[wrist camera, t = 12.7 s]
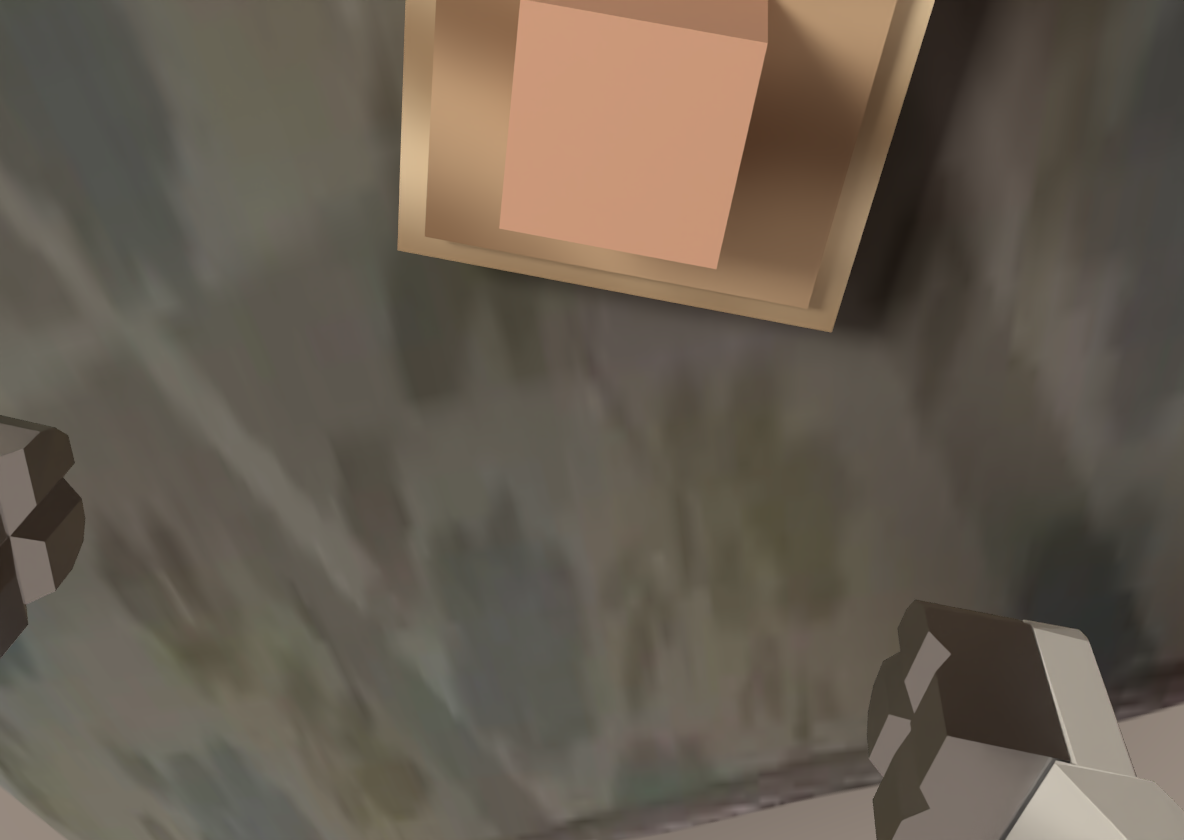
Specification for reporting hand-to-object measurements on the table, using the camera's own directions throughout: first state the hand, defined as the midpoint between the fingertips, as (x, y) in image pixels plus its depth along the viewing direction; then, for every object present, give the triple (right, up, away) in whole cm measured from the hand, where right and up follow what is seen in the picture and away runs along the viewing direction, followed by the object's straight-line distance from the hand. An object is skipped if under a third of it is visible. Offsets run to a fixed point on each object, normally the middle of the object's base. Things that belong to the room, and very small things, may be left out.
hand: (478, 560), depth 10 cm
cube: (+2, +10, +16) cm, 19 cm away
